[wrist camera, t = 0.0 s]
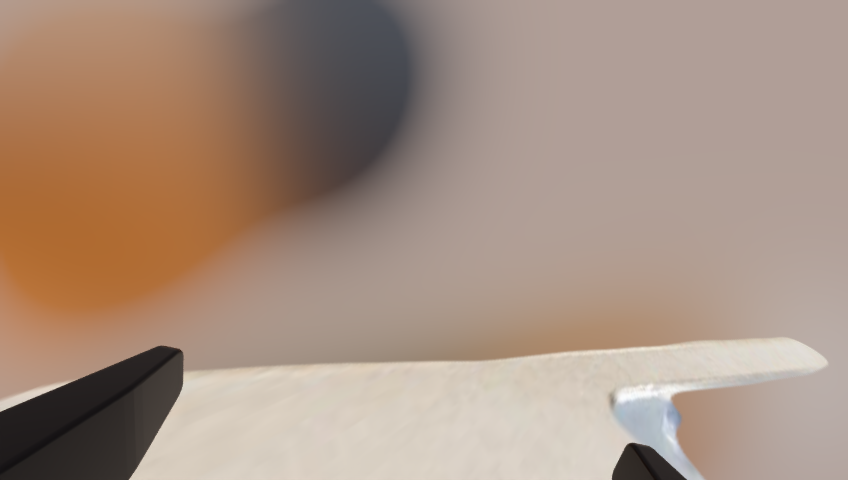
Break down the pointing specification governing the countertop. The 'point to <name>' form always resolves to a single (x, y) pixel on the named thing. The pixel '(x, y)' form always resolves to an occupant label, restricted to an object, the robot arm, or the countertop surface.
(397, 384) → the countertop surface
